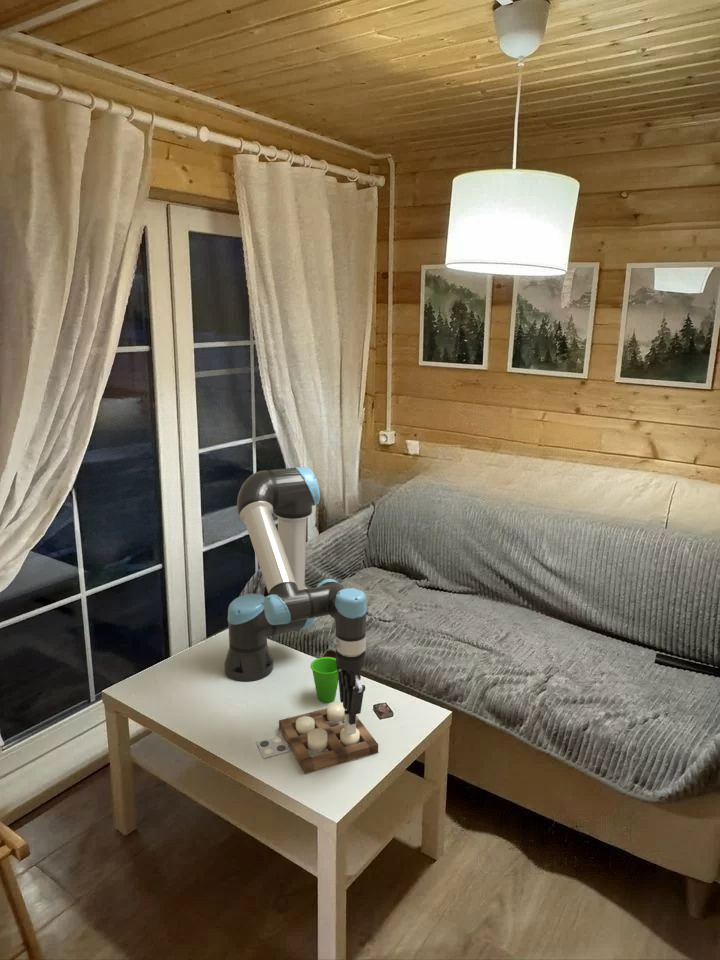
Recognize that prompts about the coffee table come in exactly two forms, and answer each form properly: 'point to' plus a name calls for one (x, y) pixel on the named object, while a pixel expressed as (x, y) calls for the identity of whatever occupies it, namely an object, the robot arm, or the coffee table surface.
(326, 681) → the cup
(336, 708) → the button back left
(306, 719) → the button back right
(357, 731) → the button front left
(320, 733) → the button front right
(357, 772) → the coffee table surface
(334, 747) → the board
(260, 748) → the card
